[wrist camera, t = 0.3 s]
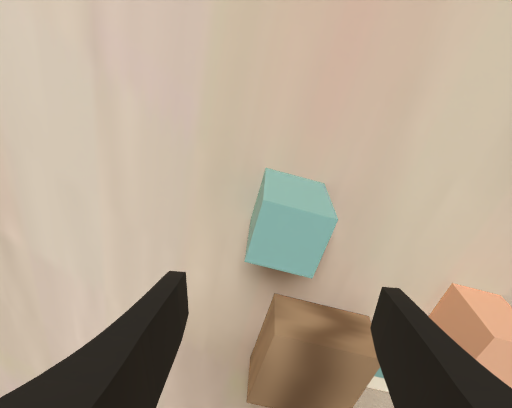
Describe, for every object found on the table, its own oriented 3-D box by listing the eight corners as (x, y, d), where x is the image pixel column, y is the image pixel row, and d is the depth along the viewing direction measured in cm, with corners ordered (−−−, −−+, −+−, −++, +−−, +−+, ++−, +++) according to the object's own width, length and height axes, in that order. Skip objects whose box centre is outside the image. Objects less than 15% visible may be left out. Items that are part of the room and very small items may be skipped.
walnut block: (368, 316, 25) (384, 360, 21) (333, 376, 28) (341, 423, 25) (274, 293, 24) (274, 334, 21) (250, 357, 28) (246, 402, 24)
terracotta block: (500, 295, 23) (554, 352, 19) (471, 330, 25) (513, 390, 21) (451, 282, 23) (494, 337, 19) (425, 319, 25) (459, 378, 20)
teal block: (324, 183, 20) (338, 219, 16) (304, 233, 22) (312, 278, 17) (265, 167, 20) (263, 200, 15) (250, 219, 22) (244, 261, 17)
